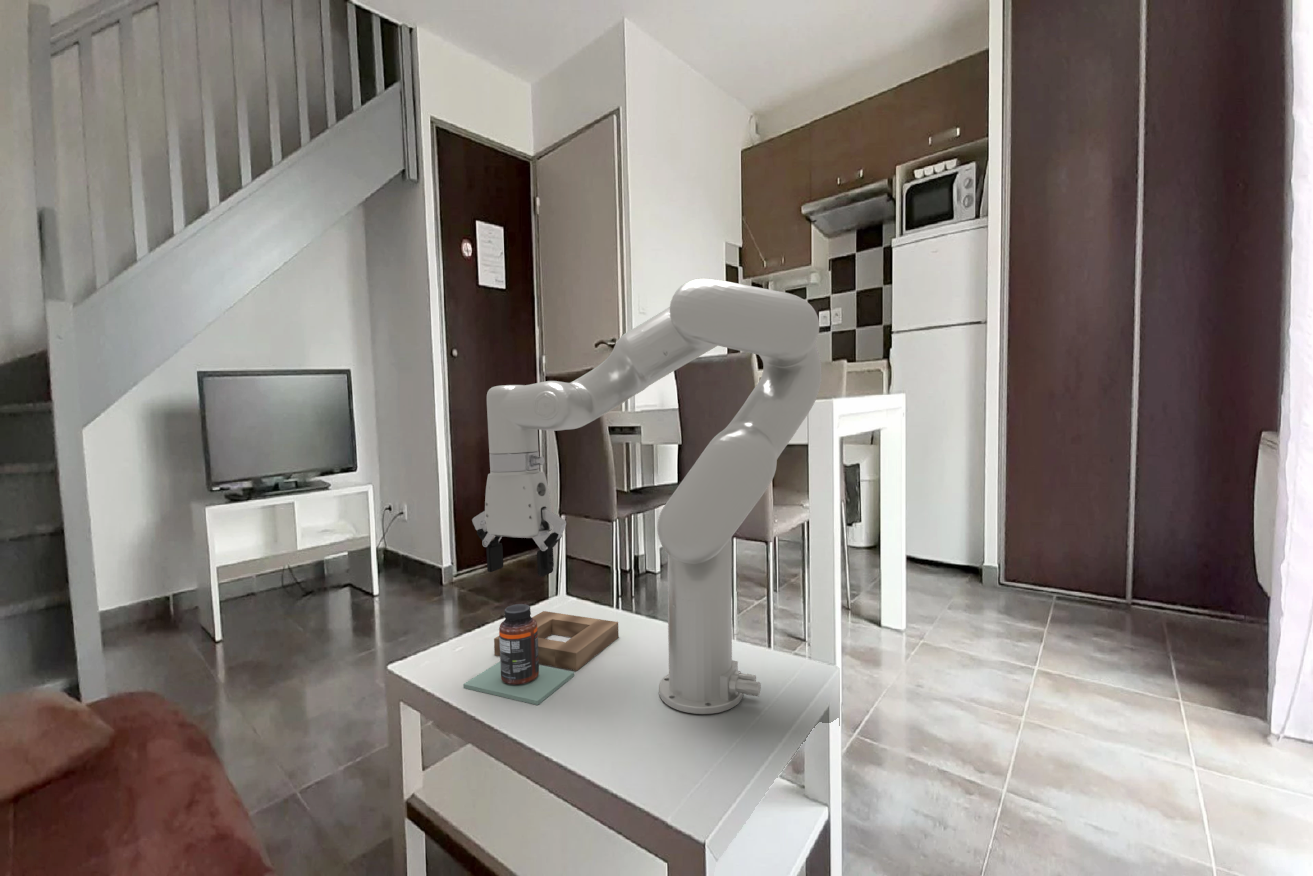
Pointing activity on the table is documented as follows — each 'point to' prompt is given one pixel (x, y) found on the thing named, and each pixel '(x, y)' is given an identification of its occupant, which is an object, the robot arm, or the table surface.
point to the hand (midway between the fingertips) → (520, 572)
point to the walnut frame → (577, 650)
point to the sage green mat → (527, 692)
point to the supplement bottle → (518, 646)
